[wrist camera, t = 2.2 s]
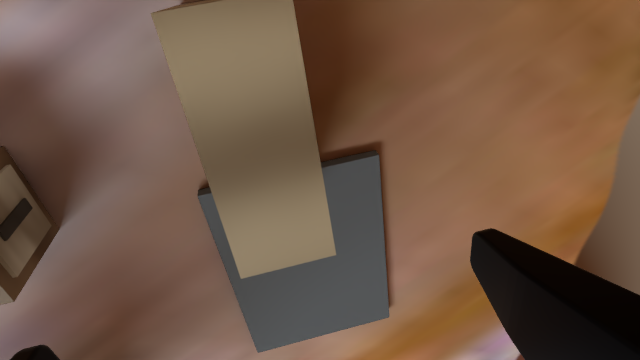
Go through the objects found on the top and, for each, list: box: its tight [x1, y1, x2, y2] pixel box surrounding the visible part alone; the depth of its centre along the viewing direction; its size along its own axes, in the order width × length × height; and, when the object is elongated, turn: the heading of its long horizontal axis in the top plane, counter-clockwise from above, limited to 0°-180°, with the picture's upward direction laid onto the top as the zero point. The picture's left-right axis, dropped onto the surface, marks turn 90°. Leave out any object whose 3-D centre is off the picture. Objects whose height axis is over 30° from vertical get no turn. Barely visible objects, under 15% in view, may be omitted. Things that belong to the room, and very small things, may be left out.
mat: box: [198, 150, 389, 353], centre depth 24 cm, size 14×10×1 cm
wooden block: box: [151, 0, 336, 279], centre depth 16 cm, size 10×4×6 cm, turn 8°
